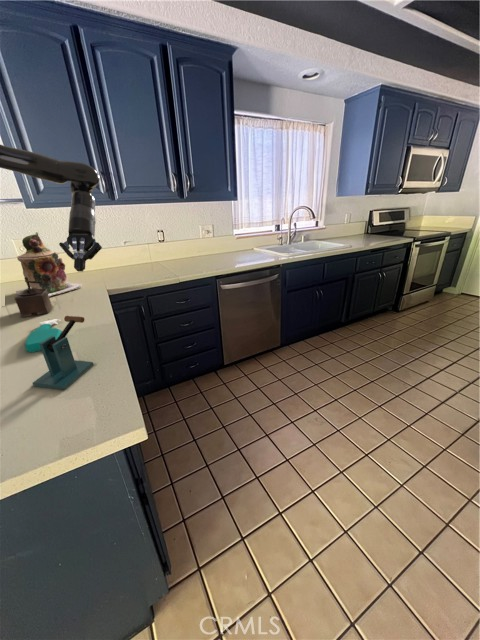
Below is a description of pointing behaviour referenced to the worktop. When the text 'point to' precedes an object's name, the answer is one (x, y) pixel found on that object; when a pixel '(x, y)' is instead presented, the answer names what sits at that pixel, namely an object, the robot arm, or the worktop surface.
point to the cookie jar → (44, 267)
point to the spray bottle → (41, 335)
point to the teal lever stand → (60, 365)
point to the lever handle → (66, 329)
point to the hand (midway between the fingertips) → (79, 270)
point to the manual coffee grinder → (34, 299)
